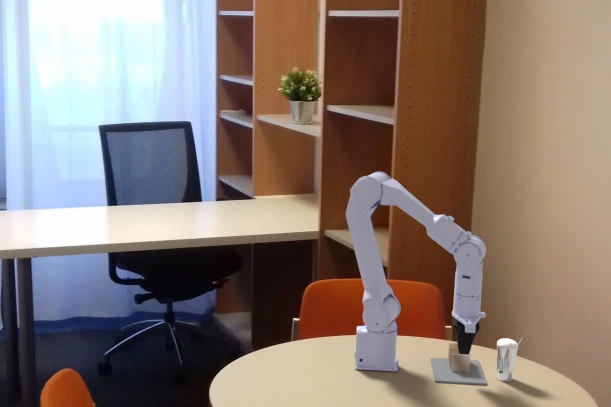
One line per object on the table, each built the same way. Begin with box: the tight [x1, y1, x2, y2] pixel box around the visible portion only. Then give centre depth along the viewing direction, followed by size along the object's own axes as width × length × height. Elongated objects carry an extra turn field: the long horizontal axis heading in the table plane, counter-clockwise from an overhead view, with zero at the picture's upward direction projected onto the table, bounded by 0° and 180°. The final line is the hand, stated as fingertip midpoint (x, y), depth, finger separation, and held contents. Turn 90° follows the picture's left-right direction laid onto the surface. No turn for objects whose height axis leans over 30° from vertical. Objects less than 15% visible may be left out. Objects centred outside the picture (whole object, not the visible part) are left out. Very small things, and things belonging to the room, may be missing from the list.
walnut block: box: [447, 342, 471, 372], centre depth 167 cm, size 4×4×7 cm
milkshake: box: [496, 336, 523, 383], centre depth 161 cm, size 4×5×10 cm
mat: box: [430, 357, 488, 386], centre depth 165 cm, size 11×13×1 cm
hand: (463, 353), depth 160 cm, fingers closed
